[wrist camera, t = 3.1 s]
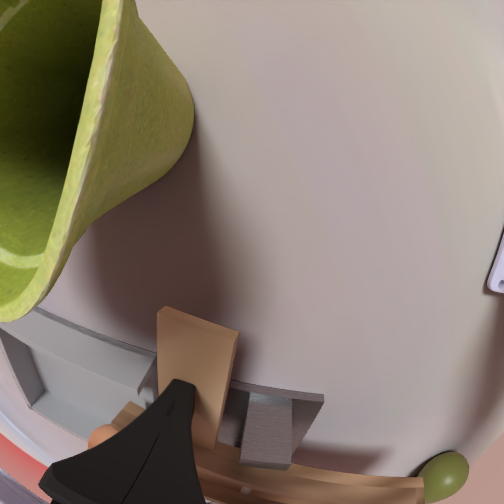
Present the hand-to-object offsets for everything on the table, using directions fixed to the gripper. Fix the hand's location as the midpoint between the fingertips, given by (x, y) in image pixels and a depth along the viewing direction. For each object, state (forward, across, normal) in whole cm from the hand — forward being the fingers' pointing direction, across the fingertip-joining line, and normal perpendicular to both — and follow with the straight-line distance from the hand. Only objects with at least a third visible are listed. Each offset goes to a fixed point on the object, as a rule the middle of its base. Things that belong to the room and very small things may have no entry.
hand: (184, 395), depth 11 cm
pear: (+4, -24, +14) cm, 28 cm away
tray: (+4, +9, +6) cm, 11 cm away
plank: (0, -5, +3) cm, 6 cm away
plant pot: (+4, +5, -11) cm, 12 cm away
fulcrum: (+3, -4, +6) cm, 8 cm away
